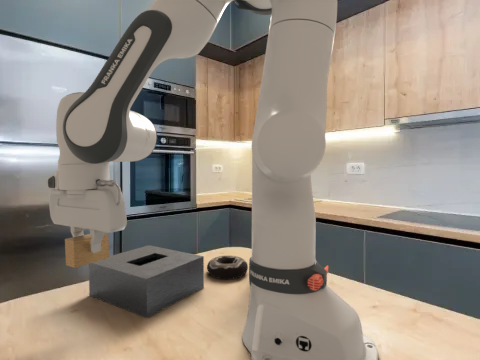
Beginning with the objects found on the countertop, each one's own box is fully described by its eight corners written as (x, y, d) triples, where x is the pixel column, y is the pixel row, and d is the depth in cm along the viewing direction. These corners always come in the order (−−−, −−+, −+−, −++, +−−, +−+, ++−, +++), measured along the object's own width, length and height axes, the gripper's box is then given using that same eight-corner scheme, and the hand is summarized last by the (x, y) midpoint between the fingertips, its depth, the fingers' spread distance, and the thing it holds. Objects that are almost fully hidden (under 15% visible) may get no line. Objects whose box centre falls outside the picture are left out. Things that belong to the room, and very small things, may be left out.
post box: (203, 287, 76) (203, 256, 75) (147, 318, 60) (146, 278, 60) (149, 272, 86) (148, 245, 86) (89, 295, 71) (88, 262, 71)
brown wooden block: (109, 257, 61) (108, 233, 60) (74, 267, 55) (73, 240, 55) (100, 255, 62) (99, 231, 62) (65, 265, 56) (64, 238, 56)
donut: (236, 284, 78) (236, 269, 78) (199, 277, 84) (198, 262, 83) (254, 270, 89) (254, 257, 89) (219, 264, 94) (219, 252, 94)
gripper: (134, 179, 55) (136, 253, 56) (72, 178, 66) (75, 241, 66) (102, 180, 50) (105, 263, 50) (41, 180, 61) (44, 247, 61)
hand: (87, 250), depth 58 cm, fingers closed on brown wooden block, 3 cm apart
